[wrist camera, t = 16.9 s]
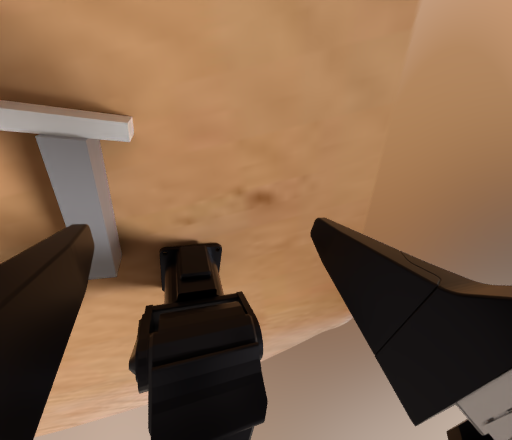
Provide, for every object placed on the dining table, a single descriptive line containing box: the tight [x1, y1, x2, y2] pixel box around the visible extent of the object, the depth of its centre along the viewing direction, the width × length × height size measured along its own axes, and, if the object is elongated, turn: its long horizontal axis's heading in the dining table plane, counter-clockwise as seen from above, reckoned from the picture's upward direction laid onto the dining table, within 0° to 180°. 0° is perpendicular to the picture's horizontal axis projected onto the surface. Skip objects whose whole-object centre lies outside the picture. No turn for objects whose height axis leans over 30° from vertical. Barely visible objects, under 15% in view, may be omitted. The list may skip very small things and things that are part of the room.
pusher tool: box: [0, 100, 134, 280], centre depth 17 cm, size 13×7×3 cm, turn 169°
